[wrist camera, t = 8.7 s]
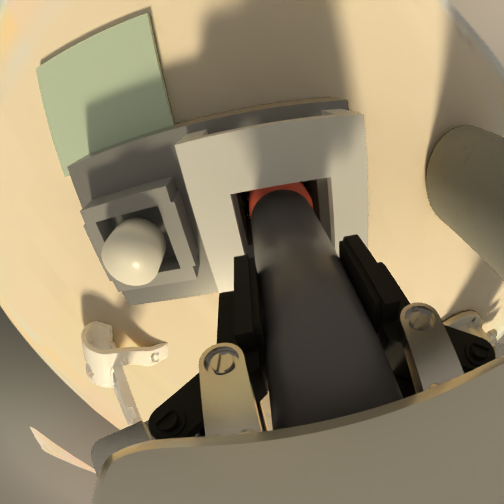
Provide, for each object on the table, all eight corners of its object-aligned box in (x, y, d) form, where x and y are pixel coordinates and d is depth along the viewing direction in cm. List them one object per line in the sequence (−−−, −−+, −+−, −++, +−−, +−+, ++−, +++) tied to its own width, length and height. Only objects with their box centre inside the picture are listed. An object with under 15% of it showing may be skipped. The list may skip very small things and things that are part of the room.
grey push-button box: (327, 97, 18) (371, 103, 12) (340, 240, 24) (371, 296, 18) (92, 151, 19) (39, 184, 13) (141, 276, 25) (117, 336, 19)
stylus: (309, 184, 15) (426, 392, 5) (314, 239, 17) (393, 442, 6) (245, 195, 15) (264, 433, 5) (256, 250, 17) (282, 469, 7)
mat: (149, 14, 14) (147, 12, 13) (177, 137, 19) (176, 138, 19) (40, 68, 14) (35, 68, 14) (68, 174, 20) (64, 176, 19)
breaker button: (299, 162, 18) (309, 175, 16) (305, 213, 20) (315, 233, 18) (243, 172, 19) (244, 187, 16) (253, 222, 21) (255, 243, 18)
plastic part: (89, 317, 28) (52, 402, 18) (171, 342, 30) (154, 436, 20) (91, 354, 32) (65, 428, 22) (162, 376, 34) (149, 455, 24)
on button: (155, 211, 16) (145, 227, 14) (173, 261, 18) (167, 281, 16) (104, 224, 16) (92, 240, 15) (125, 270, 18) (116, 289, 17)
